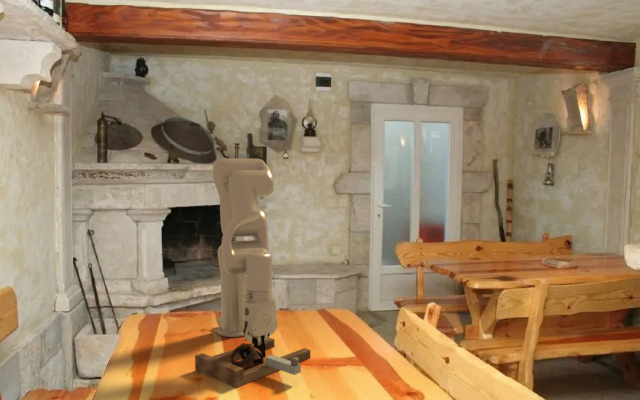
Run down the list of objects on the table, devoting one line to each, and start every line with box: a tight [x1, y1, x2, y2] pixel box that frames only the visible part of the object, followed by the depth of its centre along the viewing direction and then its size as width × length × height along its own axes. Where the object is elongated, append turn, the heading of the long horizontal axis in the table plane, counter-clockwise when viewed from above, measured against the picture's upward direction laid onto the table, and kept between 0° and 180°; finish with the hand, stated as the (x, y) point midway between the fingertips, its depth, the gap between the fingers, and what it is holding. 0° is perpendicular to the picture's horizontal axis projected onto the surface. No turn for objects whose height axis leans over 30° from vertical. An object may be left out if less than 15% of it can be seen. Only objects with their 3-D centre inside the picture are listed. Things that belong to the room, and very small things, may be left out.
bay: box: [194, 337, 311, 388], centre depth 153 cm, size 18×28×4 cm, turn 139°
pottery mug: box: [230, 342, 265, 370], centre depth 149 cm, size 12×10×8 cm
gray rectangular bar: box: [264, 354, 302, 376], centre depth 142 cm, size 11×2×4 cm, turn 49°
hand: (259, 356), depth 154 cm, fingers closed
